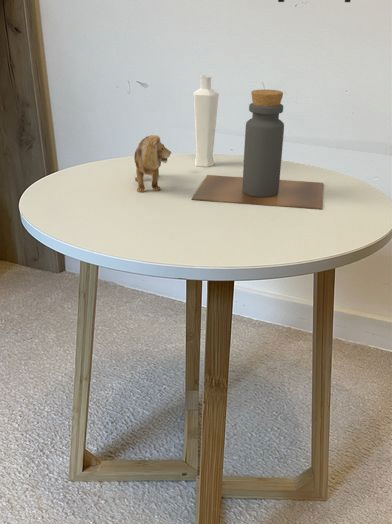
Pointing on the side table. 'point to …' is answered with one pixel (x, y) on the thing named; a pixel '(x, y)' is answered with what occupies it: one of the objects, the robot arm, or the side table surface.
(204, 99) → the perfume bottle
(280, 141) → the bottle
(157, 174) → the lion figurine
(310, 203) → the copper mat
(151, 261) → the side table surface
